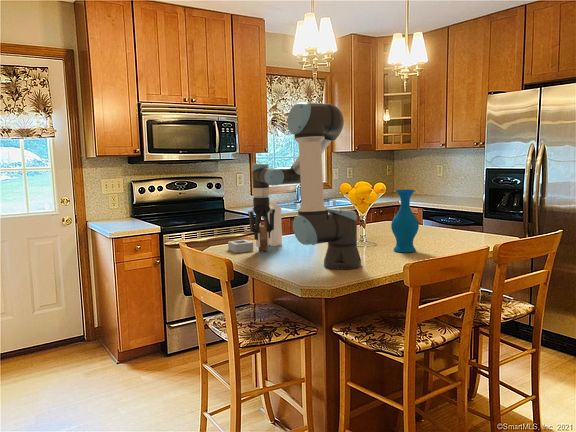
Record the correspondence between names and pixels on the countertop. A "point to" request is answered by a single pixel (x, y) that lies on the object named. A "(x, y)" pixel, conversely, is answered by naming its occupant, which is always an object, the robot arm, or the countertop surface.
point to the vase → (404, 224)
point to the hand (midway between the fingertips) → (262, 245)
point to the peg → (263, 239)
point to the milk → (276, 225)
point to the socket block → (240, 246)
